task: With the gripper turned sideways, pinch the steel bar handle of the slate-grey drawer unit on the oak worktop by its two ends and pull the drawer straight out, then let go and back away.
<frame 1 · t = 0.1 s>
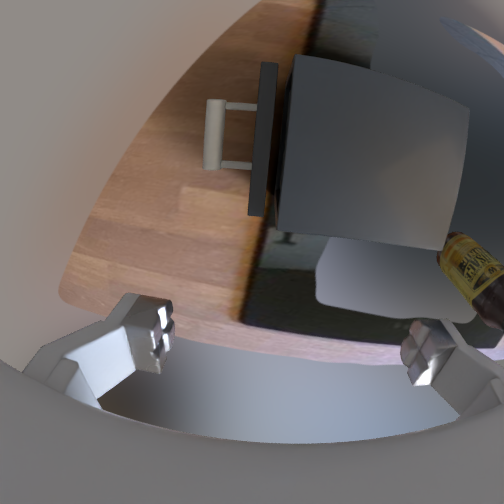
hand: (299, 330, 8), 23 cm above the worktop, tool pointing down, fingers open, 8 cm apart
drawer: (310, 143, 22), point 5 cm above the worktop, slide at 1.0 cm
cabinet: (348, 148, 27), on the worktop
sauce bottle: (449, 250, 31), on the worktop
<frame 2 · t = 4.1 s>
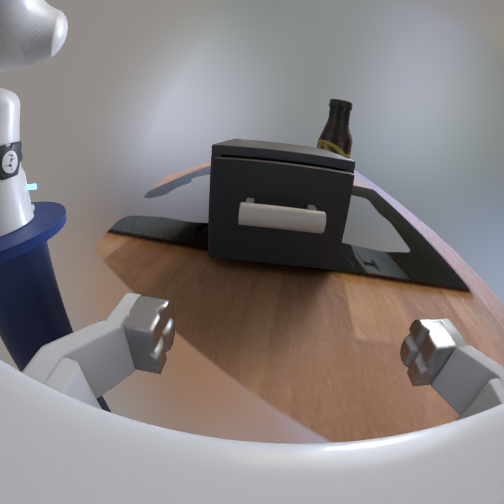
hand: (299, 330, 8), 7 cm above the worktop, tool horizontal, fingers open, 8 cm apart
drawer: (278, 202, 27), point 5 cm above the worktop, slide at 1.0 cm
cabinet: (272, 234, 34), on the worktop
sauce bottle: (324, 205, 50), on the worktop
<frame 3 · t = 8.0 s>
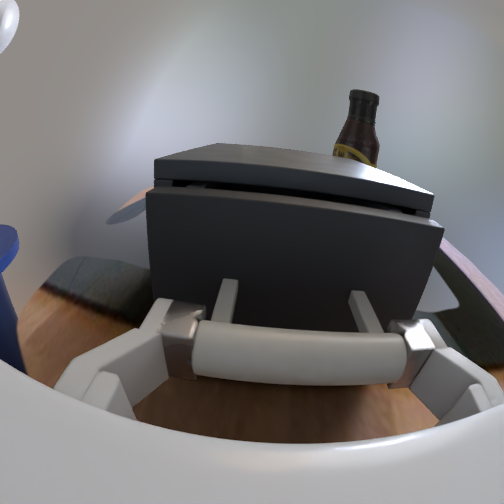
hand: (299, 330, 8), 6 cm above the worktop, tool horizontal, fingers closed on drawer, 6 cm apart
drawer: (286, 262, 15), point 5 cm above the worktop, slide at 1.0 cm, touching gripper
cabinet: (273, 294, 22), on the worktop
sauce bottle: (341, 231, 38), on the worktop
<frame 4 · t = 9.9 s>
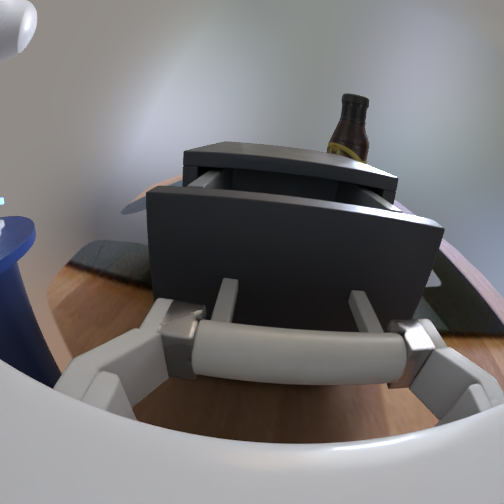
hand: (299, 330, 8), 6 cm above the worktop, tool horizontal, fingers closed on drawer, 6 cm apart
drawer: (286, 261, 15), point 5 cm above the worktop, slide at 5.3 cm, touching gripper
cabinet: (273, 268, 26), on the worktop
sauce bottle: (335, 221, 42), on the worktop
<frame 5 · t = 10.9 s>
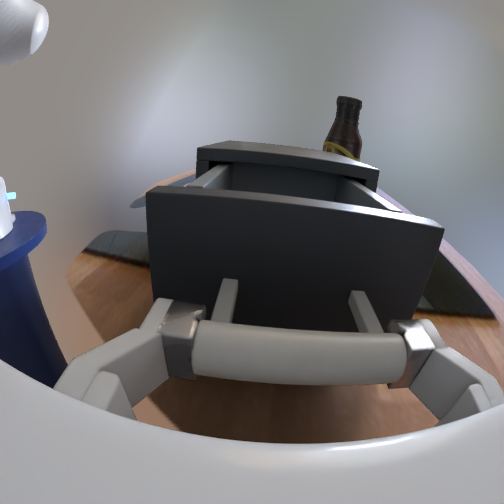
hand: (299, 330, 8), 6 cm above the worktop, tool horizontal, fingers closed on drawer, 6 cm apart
drawer: (286, 261, 15), point 5 cm above the worktop, slide at 8.5 cm, touching gripper
cabinet: (273, 254, 29), on the worktop
sauce bottle: (330, 215, 45), on the worktop
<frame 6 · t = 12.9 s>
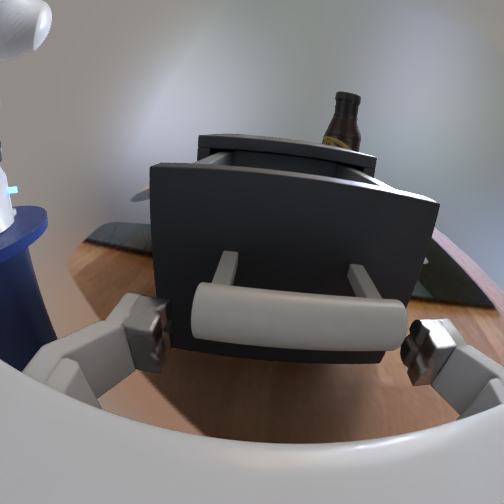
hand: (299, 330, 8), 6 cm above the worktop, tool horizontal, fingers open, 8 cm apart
drawer: (285, 243, 15), point 5 cm above the worktop, slide at 8.5 cm
cabinet: (272, 244, 29), on the worktop
sauce bottle: (330, 210, 45), on the worktop
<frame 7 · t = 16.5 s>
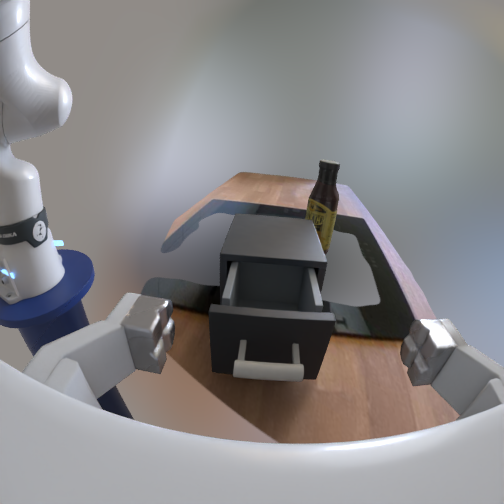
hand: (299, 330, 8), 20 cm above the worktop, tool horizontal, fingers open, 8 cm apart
drawer: (269, 321, 30), point 5 cm above the worktop, slide at 8.5 cm
cabinet: (267, 296, 44), on the worktop
sauce bottle: (314, 252, 59), on the worktop
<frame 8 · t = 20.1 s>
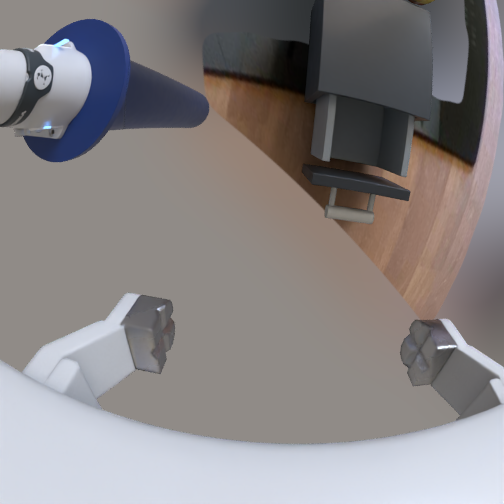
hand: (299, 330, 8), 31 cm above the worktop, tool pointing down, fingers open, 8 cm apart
drawer: (357, 147, 29), point 5 cm above the worktop, slide at 8.5 cm
cabinet: (353, 62, 29), on the worktop
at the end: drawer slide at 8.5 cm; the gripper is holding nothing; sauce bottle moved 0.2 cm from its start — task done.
